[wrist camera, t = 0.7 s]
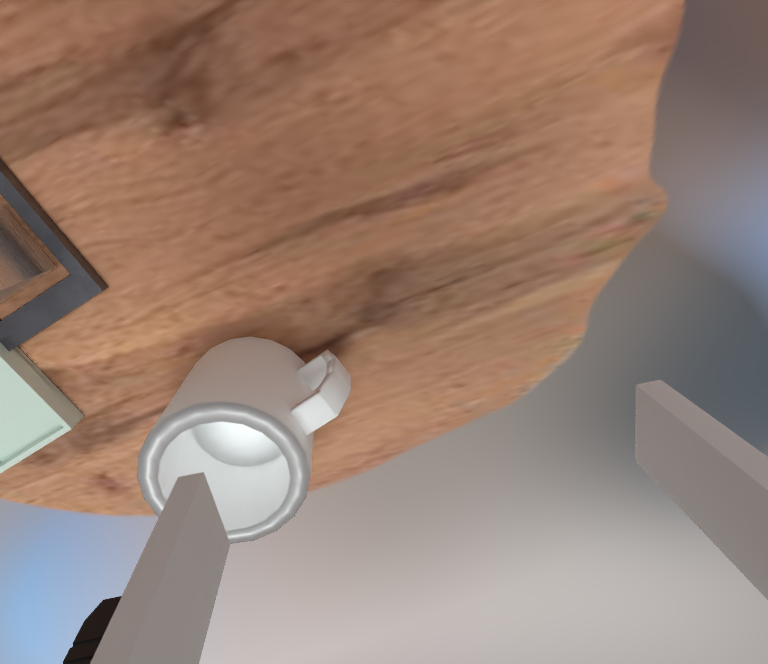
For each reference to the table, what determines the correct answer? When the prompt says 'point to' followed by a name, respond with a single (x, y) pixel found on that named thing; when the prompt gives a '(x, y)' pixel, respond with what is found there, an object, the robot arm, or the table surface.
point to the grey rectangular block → (19, 258)
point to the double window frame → (82, 277)
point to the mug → (245, 432)
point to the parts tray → (29, 408)
